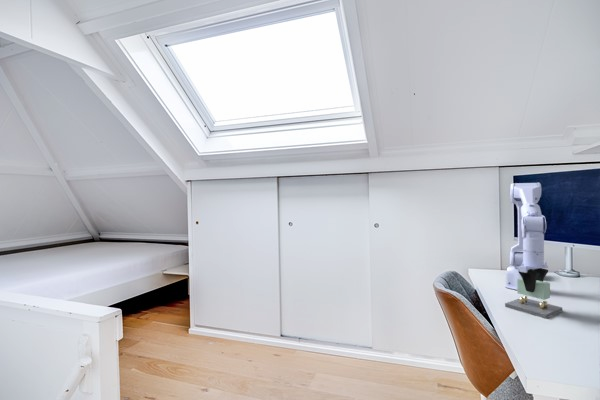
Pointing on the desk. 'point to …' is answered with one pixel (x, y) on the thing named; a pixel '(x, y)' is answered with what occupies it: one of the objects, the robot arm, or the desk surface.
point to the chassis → (534, 307)
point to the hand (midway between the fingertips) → (533, 290)
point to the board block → (540, 289)
